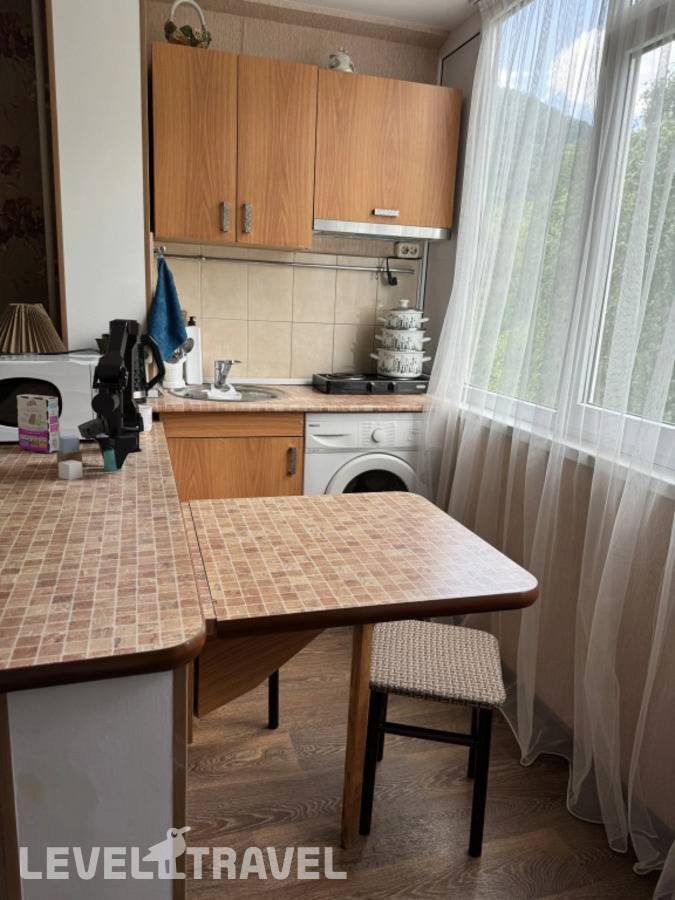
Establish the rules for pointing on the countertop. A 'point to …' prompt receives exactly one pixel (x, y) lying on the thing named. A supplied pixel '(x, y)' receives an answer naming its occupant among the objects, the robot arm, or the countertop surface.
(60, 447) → the tower top
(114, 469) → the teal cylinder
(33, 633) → the countertop surface
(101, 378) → the robot arm
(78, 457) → the tower base
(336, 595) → the countertop surface
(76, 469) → the cube
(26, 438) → the candy bar box
